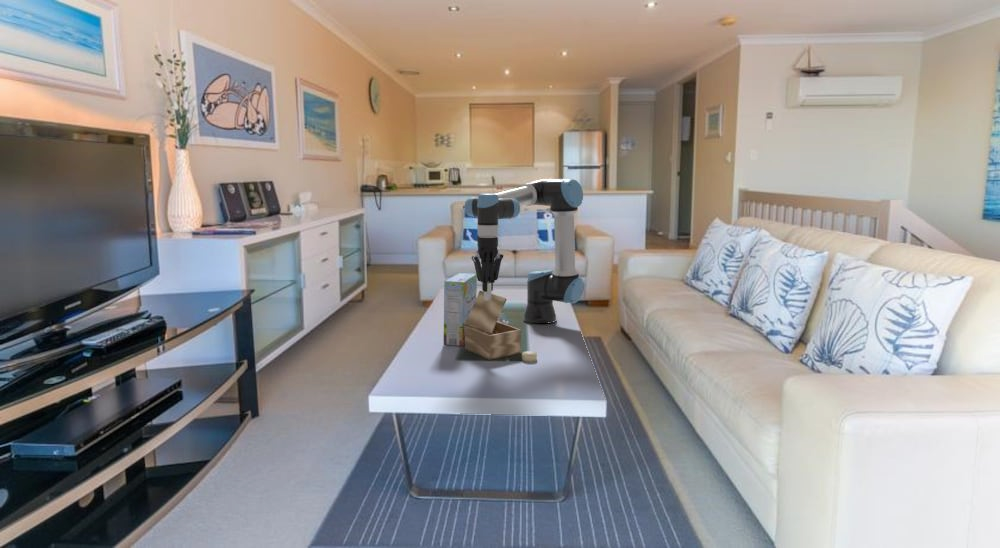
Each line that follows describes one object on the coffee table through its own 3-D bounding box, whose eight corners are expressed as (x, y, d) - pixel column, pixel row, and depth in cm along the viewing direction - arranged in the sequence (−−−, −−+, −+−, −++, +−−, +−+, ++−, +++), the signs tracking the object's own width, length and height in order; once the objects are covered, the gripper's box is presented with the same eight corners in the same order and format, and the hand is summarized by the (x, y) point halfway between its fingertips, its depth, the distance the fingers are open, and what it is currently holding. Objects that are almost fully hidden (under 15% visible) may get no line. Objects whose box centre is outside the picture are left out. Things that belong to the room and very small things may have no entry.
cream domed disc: (530, 356, 210) (530, 350, 209) (539, 360, 205) (539, 353, 205) (519, 359, 207) (519, 352, 206) (528, 362, 202) (528, 356, 202)
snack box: (464, 347, 221) (464, 282, 216) (442, 345, 222) (442, 281, 218) (477, 332, 242) (477, 272, 237) (457, 331, 243) (457, 272, 239)
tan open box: (496, 342, 226) (496, 321, 225) (520, 352, 214) (521, 329, 212) (465, 349, 218) (465, 326, 216) (489, 360, 205) (489, 335, 204)
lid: (490, 335, 204) (489, 334, 203) (465, 325, 217) (464, 325, 217) (507, 298, 206) (505, 298, 205) (481, 291, 219) (479, 290, 219)
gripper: (496, 234, 214) (496, 296, 218) (467, 236, 206) (467, 300, 210) (508, 236, 208) (507, 299, 212) (478, 238, 200) (478, 303, 204)
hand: (487, 299), depth 211 cm, fingers closed
